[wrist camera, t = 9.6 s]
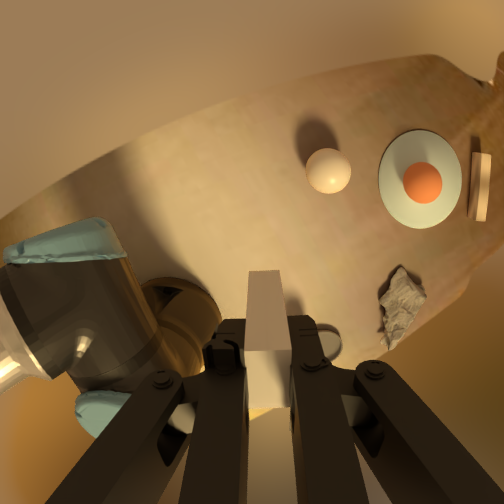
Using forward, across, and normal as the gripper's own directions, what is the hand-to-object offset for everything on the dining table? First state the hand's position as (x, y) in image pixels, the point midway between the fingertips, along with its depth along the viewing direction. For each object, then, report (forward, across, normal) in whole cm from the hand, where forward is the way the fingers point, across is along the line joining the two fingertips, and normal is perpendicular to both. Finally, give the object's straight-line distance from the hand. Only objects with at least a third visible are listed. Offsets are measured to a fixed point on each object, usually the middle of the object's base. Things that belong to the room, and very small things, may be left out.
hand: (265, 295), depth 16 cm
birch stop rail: (+26, -33, -3) cm, 42 cm away
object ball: (+23, -21, -3) cm, 32 cm away
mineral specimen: (+27, -20, +16) cm, 37 cm away
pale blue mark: (+26, -23, -3) cm, 35 cm away
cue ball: (+23, -8, -4) cm, 25 cm away
